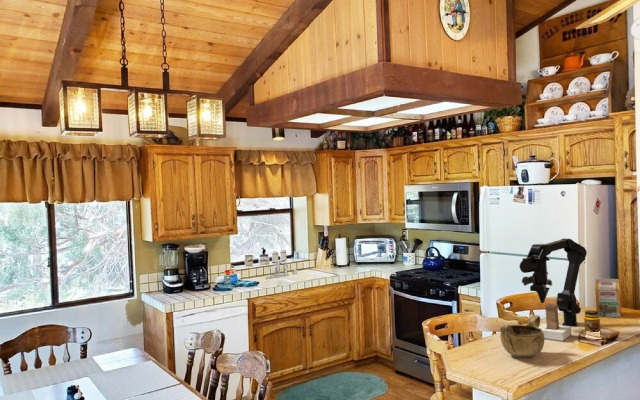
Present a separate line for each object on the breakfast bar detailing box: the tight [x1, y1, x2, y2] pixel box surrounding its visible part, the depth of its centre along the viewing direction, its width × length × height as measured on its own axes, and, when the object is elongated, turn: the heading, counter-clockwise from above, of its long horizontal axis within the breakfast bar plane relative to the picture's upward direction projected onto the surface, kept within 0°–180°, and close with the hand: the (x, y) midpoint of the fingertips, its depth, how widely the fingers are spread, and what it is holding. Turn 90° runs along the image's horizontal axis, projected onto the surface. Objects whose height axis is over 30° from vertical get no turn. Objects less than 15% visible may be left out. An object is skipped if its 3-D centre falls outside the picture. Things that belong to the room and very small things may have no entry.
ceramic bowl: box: [499, 314, 545, 359], centre depth 208 cm, size 22×17×15 cm
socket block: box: [539, 323, 572, 343], centre depth 232 cm, size 12×12×4 cm
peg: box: [544, 303, 560, 330], centre depth 232 cm, size 4×4×14 cm
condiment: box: [583, 309, 601, 332], centre depth 227 cm, size 7×8×12 cm
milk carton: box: [594, 278, 622, 319], centre depth 263 cm, size 10×11×19 cm
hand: (542, 303), depth 243 cm, fingers closed
